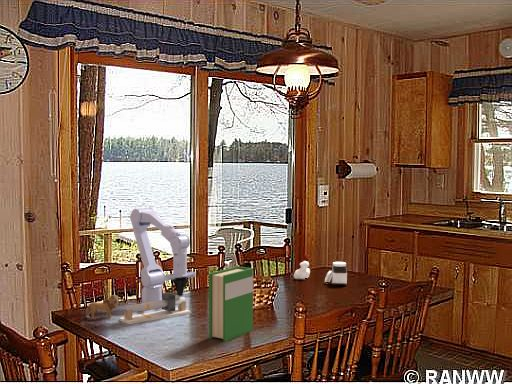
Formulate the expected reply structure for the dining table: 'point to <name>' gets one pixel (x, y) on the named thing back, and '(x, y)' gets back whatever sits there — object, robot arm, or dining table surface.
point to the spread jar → (337, 274)
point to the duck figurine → (302, 271)
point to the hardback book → (230, 302)
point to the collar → (169, 301)
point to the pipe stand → (153, 315)
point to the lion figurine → (103, 306)
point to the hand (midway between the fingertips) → (180, 295)
